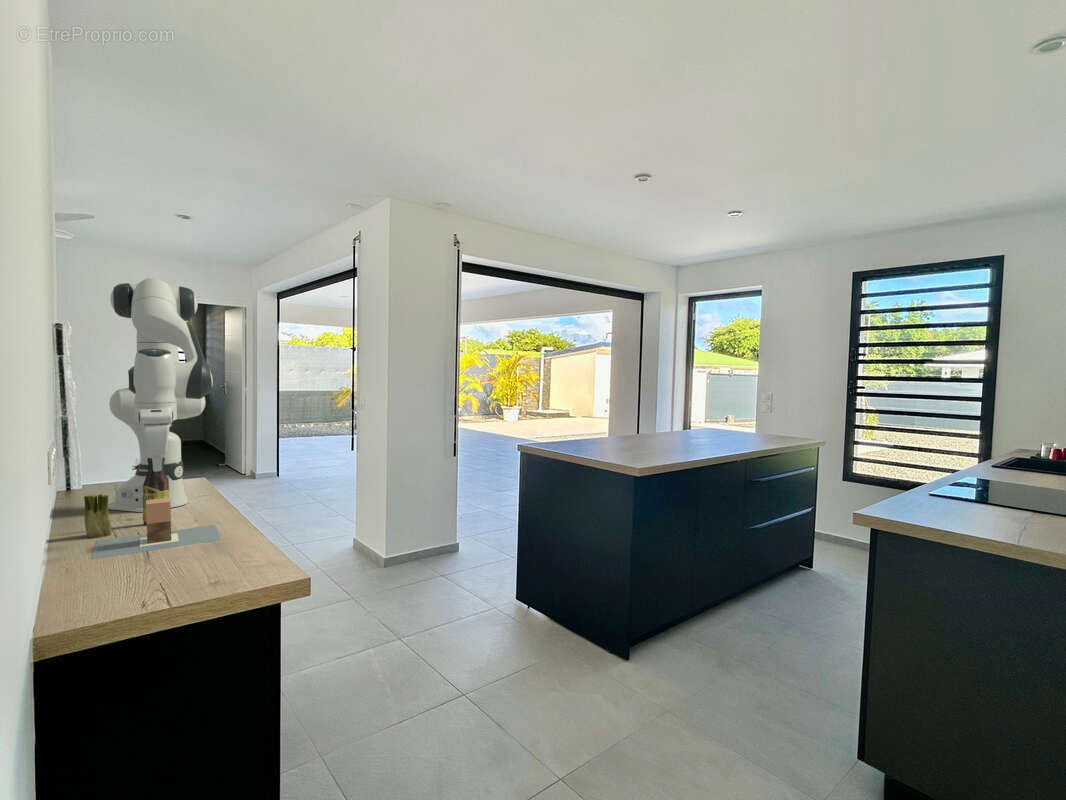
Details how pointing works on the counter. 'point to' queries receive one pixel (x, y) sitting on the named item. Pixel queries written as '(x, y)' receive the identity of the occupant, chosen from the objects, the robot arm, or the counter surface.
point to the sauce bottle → (154, 485)
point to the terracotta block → (158, 510)
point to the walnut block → (158, 532)
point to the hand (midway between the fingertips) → (157, 467)
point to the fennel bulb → (97, 516)
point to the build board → (140, 543)
